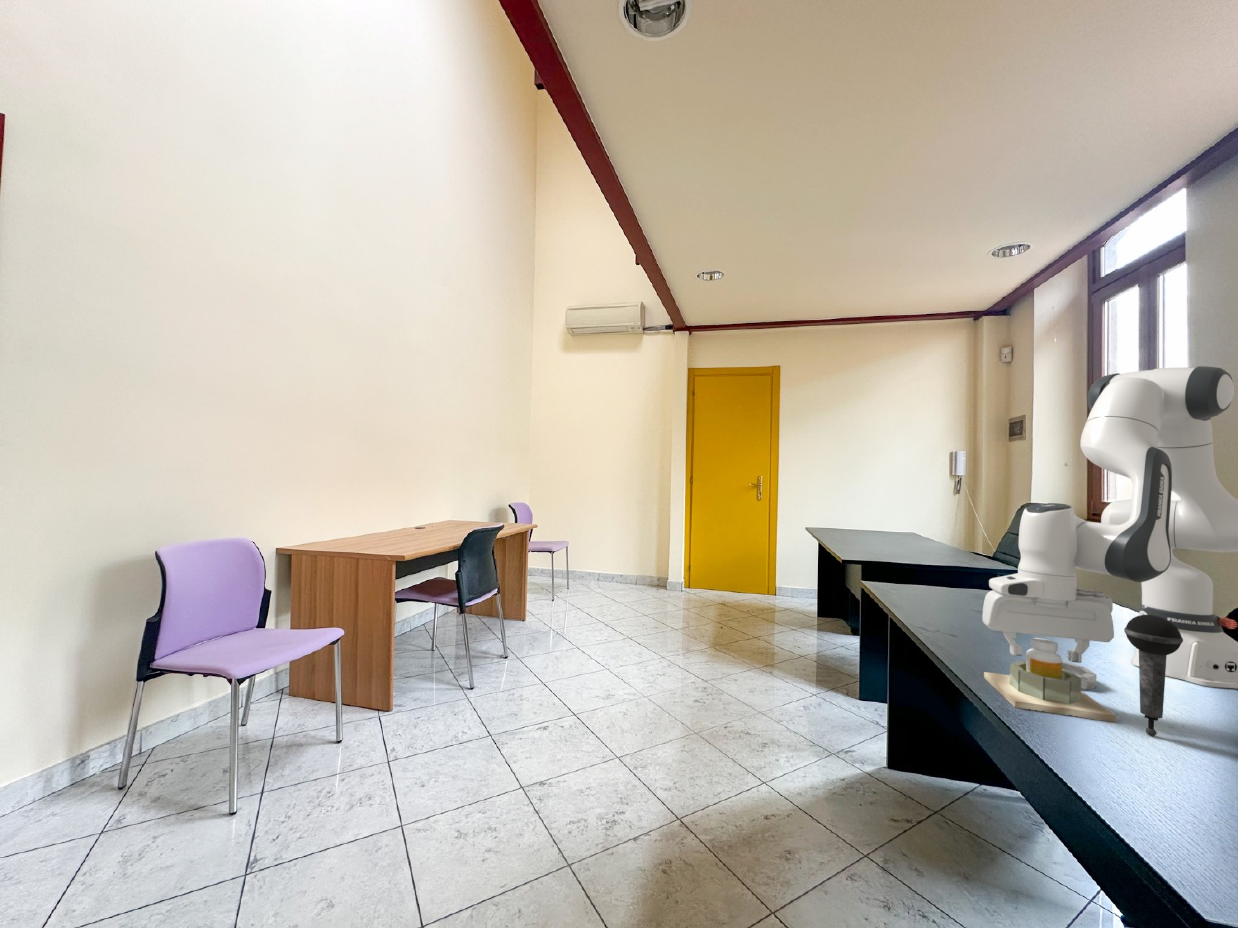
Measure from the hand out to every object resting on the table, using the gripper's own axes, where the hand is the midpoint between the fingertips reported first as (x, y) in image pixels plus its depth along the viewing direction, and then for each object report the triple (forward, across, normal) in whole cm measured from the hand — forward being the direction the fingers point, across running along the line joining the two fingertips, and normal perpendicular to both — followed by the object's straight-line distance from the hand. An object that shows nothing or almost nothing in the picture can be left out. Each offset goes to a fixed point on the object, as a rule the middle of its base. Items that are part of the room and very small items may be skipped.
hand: (1044, 658), depth 100 cm
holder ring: (+8, -8, -13) cm, 18 cm away
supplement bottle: (+7, 0, 0) cm, 7 cm away
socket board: (+8, 0, 0) cm, 8 cm away
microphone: (+8, -10, +12) cm, 17 cm away
